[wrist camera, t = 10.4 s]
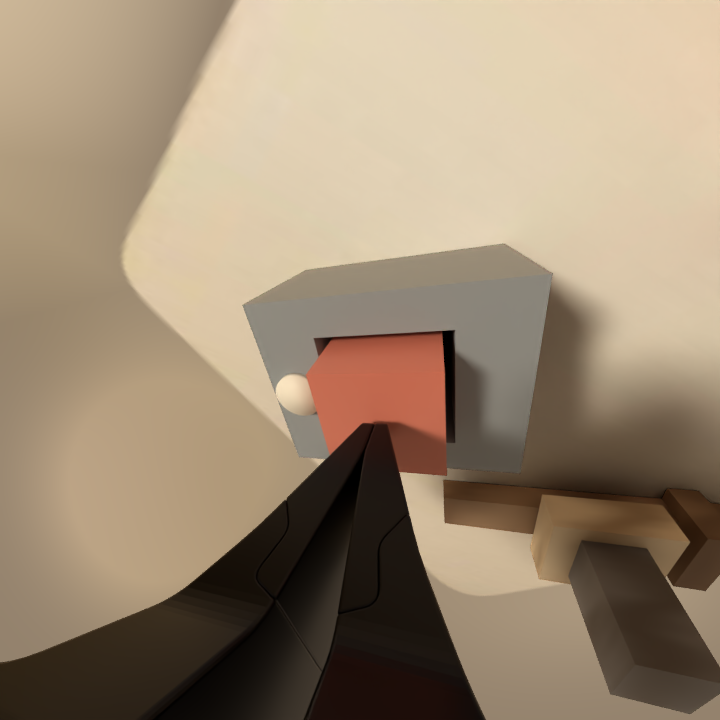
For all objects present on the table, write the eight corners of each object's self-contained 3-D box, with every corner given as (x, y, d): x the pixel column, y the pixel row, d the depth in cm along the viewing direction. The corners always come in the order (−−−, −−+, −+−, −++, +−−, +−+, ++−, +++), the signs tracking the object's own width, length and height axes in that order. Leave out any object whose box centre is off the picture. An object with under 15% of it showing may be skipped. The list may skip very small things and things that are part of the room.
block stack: (662, 505, 16) (800, 689, 10) (631, 561, 18) (724, 730, 13) (542, 494, 17) (598, 646, 11) (530, 547, 20) (570, 691, 14)
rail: (727, 493, 16) (782, 547, 14) (693, 541, 18) (734, 595, 16) (443, 471, 21) (444, 509, 18) (444, 512, 23) (445, 550, 20)
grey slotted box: (504, 243, 13) (556, 276, 7) (493, 388, 16) (522, 479, 11) (305, 270, 15) (237, 307, 10) (334, 388, 19) (296, 461, 14)
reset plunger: (441, 318, 11) (444, 372, 8) (443, 403, 13) (446, 475, 10) (341, 325, 12) (305, 374, 9) (357, 402, 14) (333, 466, 11)
